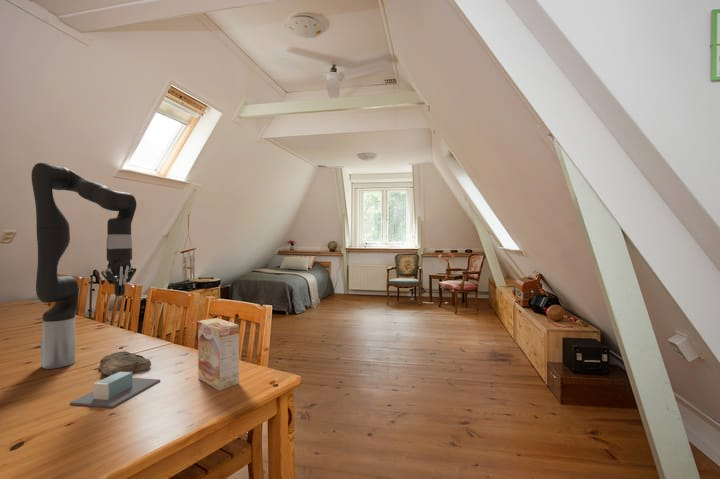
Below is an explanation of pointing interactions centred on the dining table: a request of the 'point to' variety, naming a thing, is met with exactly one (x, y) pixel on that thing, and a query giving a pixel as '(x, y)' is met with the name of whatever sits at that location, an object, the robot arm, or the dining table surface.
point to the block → (112, 385)
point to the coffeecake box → (218, 353)
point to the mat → (136, 388)
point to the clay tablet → (123, 363)
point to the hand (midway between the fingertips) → (119, 295)
